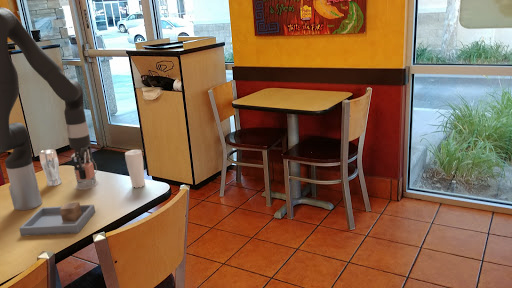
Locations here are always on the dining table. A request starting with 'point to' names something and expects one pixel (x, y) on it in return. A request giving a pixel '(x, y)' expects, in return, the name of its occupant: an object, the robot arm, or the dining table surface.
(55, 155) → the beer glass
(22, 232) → the slate tray
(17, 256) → the dining table surface
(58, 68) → the robot arm
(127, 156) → the drinking glass
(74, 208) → the walnut block
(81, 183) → the french press
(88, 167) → the brick block
